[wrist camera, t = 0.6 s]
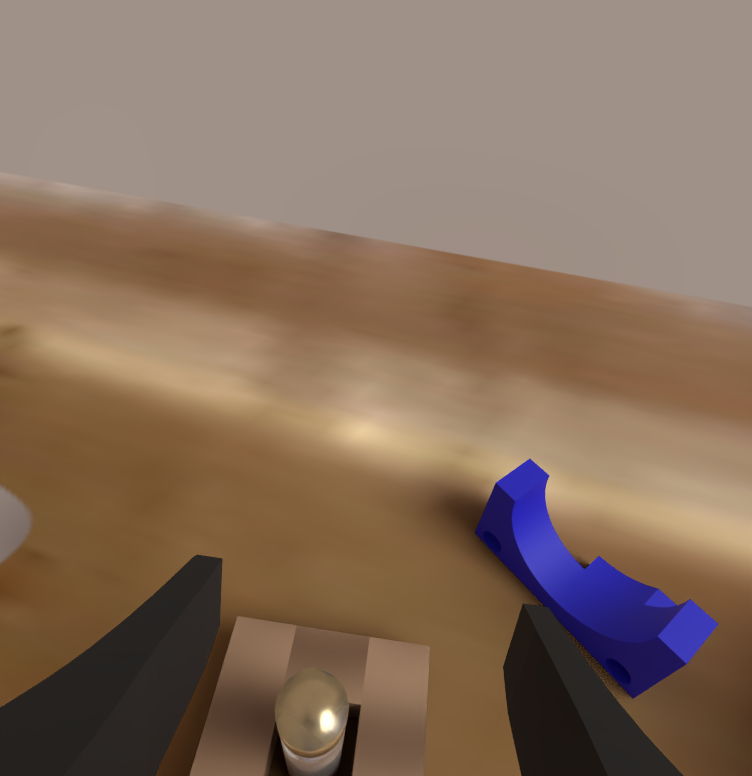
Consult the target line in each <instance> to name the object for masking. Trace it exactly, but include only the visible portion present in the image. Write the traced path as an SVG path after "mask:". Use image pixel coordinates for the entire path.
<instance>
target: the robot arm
mask: <svg viewBox="0 0 752 776" xmlns="http://www.w3.org/2000/svg"><path fill="white" fill-rule="evenodd" d="M221 580H222V558H215V557H208V556H202V555H196V556H194V557H193V558H192V559H191V560H190V561H189V562H188V563H187V564H186V565H184V566H183V567H182V568H181V569H180V570H179V571H178V572H177V573H176V574H175V575H174V576H173V577H172V578H171V579H170V580H169V581H168V582H167V583H166V584H165V585H163V586H162V587H161V588H160V589H159V590H158V591H157V592H156V593H155V594H154V595H153V596H151V597H150V598H149V599H148V600H147V601H146V602H145V603H143V604H142V605H141V606H140V607H139V608H138V609H137V610H135V611H134V612H133V613H132V614H131V615H130V616H129V617H127V618H126V619H125V620H124V621H123V622H121V623H120V624H119V625H118V626H116V627H115V628H114V629H113V630H111V631H110V632H109V633H108V634H106V635H105V636H104V637H103V638H101V639H100V640H99V641H98V642H96V643H95V644H94V645H93V646H91V647H90V648H89V649H87V650H86V651H85V652H83V653H82V654H81V655H79V656H78V657H77V658H75V659H74V660H72V661H71V662H70V663H68V664H67V665H65V666H64V667H62V668H61V669H60V670H58V671H57V672H55V673H54V674H52V675H51V676H49V677H48V678H46V679H45V680H43V681H42V682H40V683H39V684H37V685H36V686H34V687H32V688H31V689H29V690H28V691H26V692H25V693H23V694H21V695H20V696H18V697H17V698H15V699H14V700H12V701H10V702H9V703H7V704H5V705H4V706H2V707H0V776H155V775H156V772H157V770H158V767H159V765H160V763H161V761H162V759H163V757H164V755H165V752H166V750H167V748H168V746H169V744H170V742H171V740H172V737H173V735H174V733H175V731H176V729H177V727H178V725H179V722H180V720H181V718H182V716H183V714H184V712H185V710H186V708H187V705H188V703H189V701H190V699H191V697H192V695H193V692H194V690H195V688H196V686H197V684H198V682H199V680H200V677H201V675H202V673H203V671H204V669H205V666H206V663H207V660H208V657H209V655H210V652H211V649H212V646H213V643H214V640H215V637H216V634H217V631H218V628H219V625H220V604H221ZM503 669H504V680H505V691H506V700H507V708H508V715H509V720H510V725H511V729H512V734H513V739H514V743H515V748H516V753H517V757H518V762H519V766H520V771H521V775H522V776H683V775H682V774H681V773H680V772H679V771H678V769H677V768H676V767H675V766H674V765H673V764H672V763H671V762H670V761H669V760H668V759H667V758H666V757H665V756H664V755H663V754H662V752H661V751H660V750H659V749H658V748H657V747H656V746H655V745H654V744H653V743H652V741H651V740H650V739H649V738H648V737H647V736H646V735H645V734H644V732H643V731H642V730H641V729H640V728H639V726H638V725H637V724H636V723H635V722H634V720H633V719H632V718H631V717H630V716H629V714H628V713H627V712H626V711H625V710H624V709H623V707H622V706H621V705H620V704H619V702H618V701H617V700H616V699H615V697H614V696H613V695H612V694H611V692H610V691H609V690H608V688H607V687H606V686H605V684H604V683H603V682H602V681H601V679H600V678H599V677H598V675H597V674H596V673H595V671H594V670H593V669H592V667H591V666H590V665H589V663H588V662H587V660H586V659H585V658H584V656H583V655H582V654H581V652H580V651H579V649H578V648H577V647H576V645H575V644H574V642H573V641H572V640H571V638H570V637H569V635H568V634H567V633H566V631H565V630H564V628H563V627H562V626H561V624H560V623H559V621H558V620H557V619H556V617H555V616H554V614H553V613H552V612H551V610H550V609H549V607H543V606H536V605H529V604H523V605H522V608H521V611H520V615H519V618H518V621H517V624H516V627H515V631H514V634H513V637H512V640H511V643H510V647H509V650H508V653H507V656H506V659H505V663H504V666H503Z"/></svg>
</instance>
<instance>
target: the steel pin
mask: <svg viewBox="0 0 752 776" xmlns="http://www.w3.org/2000/svg"><path fill="white" fill-rule="evenodd" d="M348 711H349V703H348V697H347V693H346V690H345V688H344V686H343V684H342V683H341V682H340V680H339V679H338V678H337V677H336V676H335V675H333V674H332V673H330V672H329V671H326V670H324V669H320V668H309V669H304V670H302V671H299V672H297V673H296V674H294V675H293V676H292V677H290V678H289V679H288V680H287V681H286V682H285V684H284V685H283V687H282V688H281V690H280V692H279V694H278V697H277V700H276V705H275V719H276V725H277V729H278V733H279V736H280V739H281V743H282V748H283V752H284V756H285V761H286V765H287V769H288V772H289V775H290V776H335V775H336V773H337V771H338V768H339V765H340V759H341V753H342V747H343V740H344V734H345V728H346V724H347V718H348Z"/></svg>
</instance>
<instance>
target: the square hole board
mask: <svg viewBox="0 0 752 776" xmlns="http://www.w3.org/2000/svg"><path fill="white" fill-rule="evenodd" d="M429 652H430V646H425V645H419V644H412V643H406V642H400V641H393V640H387V639H380V638H374V637H368V636H361V635H355V634H349V633H342V632H336V631H330V630H323V629H317V628H310V627H304V626H298V625H291V624H285V623H279V622H272V621H266V620H259V619H253V618H247V617H240V616H237V619H236V622H235V626H234V629H233V632H232V636H231V639H230V642H229V646H228V649H227V652H226V656H225V659H224V662H223V666H222V669H221V672H220V676H219V679H218V682H217V686H216V689H215V692H214V696H213V699H212V702H211V706H210V709H209V712H208V716H207V719H206V722H205V725H204V729H203V732H202V735H201V739H200V742H199V745H198V749H197V752H196V755H195V759H194V762H193V765H192V769H191V772H190V775H189V776H269V775H270V770H271V765H272V761H273V756H274V751H275V747H276V742H277V737H278V729H277V725H276V719H275V705H276V700H277V697H278V694H279V692H280V690H281V688H282V687H283V685H284V684H285V682H286V681H287V680H288V679H289V678H290V677H292V676H293V675H294V674H296V673H297V672H299V671H302V670H304V669H309V668H320V669H324V670H326V671H329V672H330V673H332V674H333V675H335V676H336V677H337V678H338V679H339V680H340V682H341V683H342V684H343V686H344V688H345V690H346V693H347V697H348V703H349V711H348V716H350V717H357V718H358V724H357V732H356V740H355V748H354V756H353V763H352V771H351V776H423V773H424V753H425V733H426V713H427V693H428V672H429Z"/></svg>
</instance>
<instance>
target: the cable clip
mask: <svg viewBox="0 0 752 776" xmlns="http://www.w3.org/2000/svg"><path fill="white" fill-rule="evenodd" d="M548 478H549V475H548V474H547V473H546V472H545V471H543V470H542V469H541V468H540V467H539V466H538V465H537V464H536V463H534V462H533V461H532V460H531V459H529V460H527V461H526V462H524V463H523V464H522V465H520V466H519V467H517V468H516V469H515V470H513V471H512V472H510V473H509V474H508V475H506V476H505V477H503V478H502V479H501V480H499V481H498V482H496V484H495V486H494V488H493V491H492V493H491V496H490V498H489V500H488V503H487V505H486V507H485V510H484V512H483V515H482V517H481V519H480V522H479V524H478V527H477V529H476V531H475V534H476V535H477V536H478V537H479V538H480V539H481V540H482V541H483V542H484V543H485V544H486V545H487V546H488V547H489V548H490V549H491V550H492V551H493V552H494V553H495V555H496V556H497V557H498V558H499V559H500V560H501V561H502V562H503V563H504V564H505V565H506V566H507V567H508V568H509V569H510V570H511V571H512V572H513V573H514V574H515V575H516V576H517V578H518V579H519V580H520V581H521V582H522V583H523V584H524V585H525V586H526V587H527V588H528V589H529V590H530V591H531V592H532V593H533V594H534V595H535V596H536V597H537V598H538V599H539V601H540V602H541V603H542V604H543V605H544V606H545V607H549V609H550V610H551V612H552V613H553V614H554V616H555V617H556V618H557V619H558V620H559V621H560V622H561V624H562V625H563V626H564V627H565V628H566V629H567V630H568V631H569V632H570V633H571V634H572V635H573V636H574V637H575V638H576V639H577V640H578V641H579V642H580V643H581V644H582V645H583V647H584V648H585V649H586V650H587V651H588V652H589V653H590V654H591V655H592V656H593V657H594V658H595V659H596V660H597V661H598V662H599V663H600V664H601V665H602V666H603V667H604V669H605V670H606V671H607V672H608V673H609V674H610V675H611V676H612V677H613V678H614V679H615V680H616V681H617V682H618V683H619V684H620V685H621V686H622V687H623V688H624V689H625V690H626V692H627V693H628V694H629V695H630V696H631V697H632V698H635V697H636V696H638V695H639V694H641V693H642V692H644V691H646V690H647V689H649V688H650V687H652V686H653V685H655V684H656V683H658V682H659V681H661V680H663V679H664V678H666V677H667V676H669V675H670V674H672V673H673V672H675V671H676V670H678V669H680V668H681V667H683V666H684V665H686V664H687V663H688V662H689V660H690V659H691V658H692V657H693V655H694V654H695V653H696V652H697V650H698V649H699V648H700V646H701V645H702V644H703V643H704V641H705V640H706V639H707V638H708V636H709V635H710V634H711V633H712V631H713V630H714V629H715V628H716V626H717V625H718V623H717V622H716V621H714V620H713V619H712V618H711V617H710V616H709V615H708V614H706V613H705V612H704V611H703V610H702V609H701V608H700V607H698V606H697V605H696V604H695V603H694V602H693V601H692V600H690V599H689V600H688V601H686V602H685V603H683V604H680V605H676V604H675V603H674V602H673V601H672V600H670V599H669V598H668V597H667V596H666V595H665V594H664V593H663V592H661V591H660V590H659V589H657V588H654V587H650V586H647V585H645V584H642V583H640V582H638V581H635V580H633V579H631V578H630V577H628V576H626V575H624V574H623V573H621V572H619V571H618V570H616V569H615V568H614V567H612V566H611V565H609V564H608V563H607V562H606V561H605V560H603V559H602V558H601V557H600V556H598V557H597V558H596V559H595V560H594V561H593V562H592V563H591V564H590V565H589V566H588V567H587V568H586V569H583V568H582V567H581V566H580V564H579V563H578V562H577V561H576V560H575V559H574V558H573V557H572V555H571V554H570V553H569V552H568V550H567V549H566V548H565V546H564V545H563V543H562V542H561V540H560V539H559V537H558V535H557V534H556V532H555V530H554V528H553V526H552V523H551V521H550V518H549V515H548V512H547V508H546V502H545V488H546V483H547V480H548Z"/></svg>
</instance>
